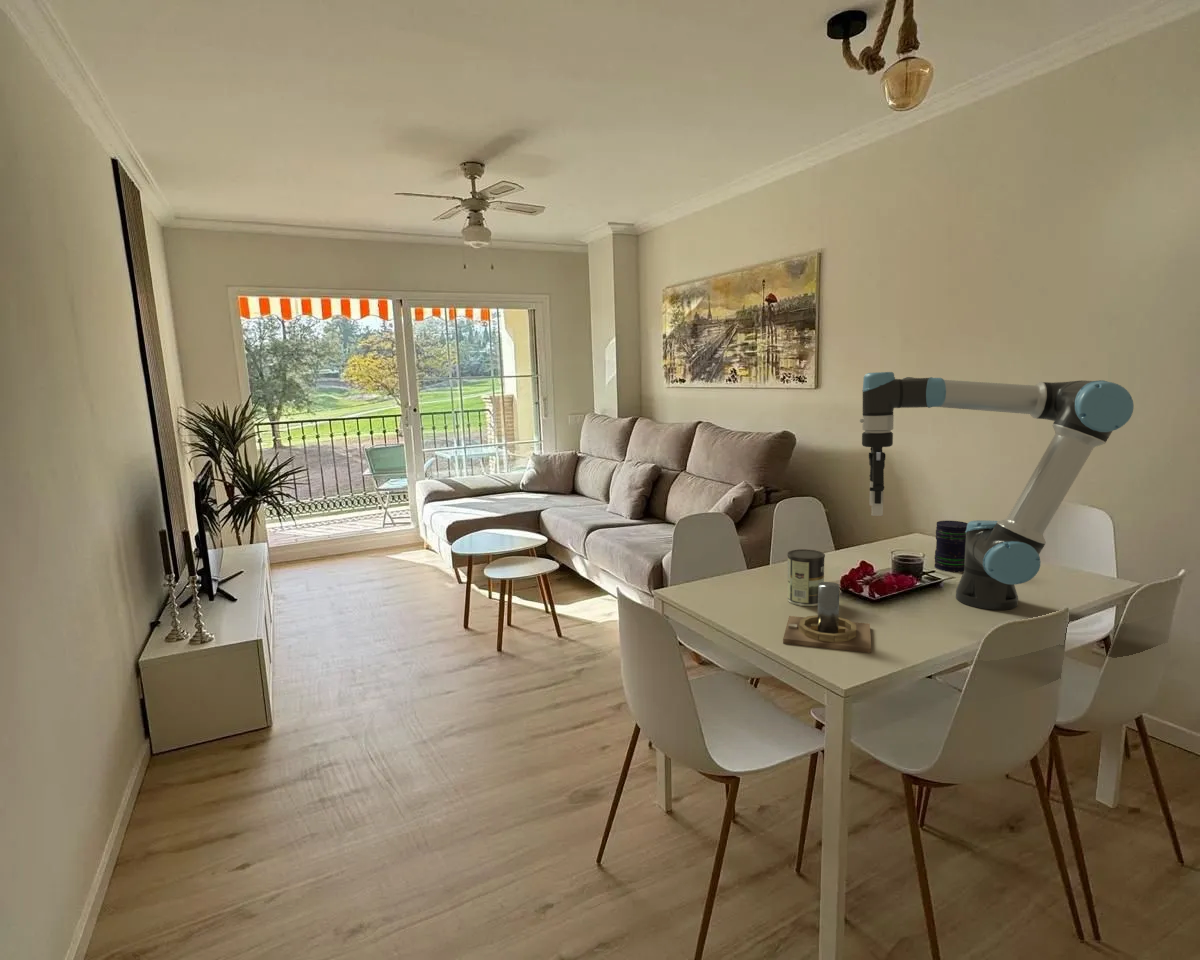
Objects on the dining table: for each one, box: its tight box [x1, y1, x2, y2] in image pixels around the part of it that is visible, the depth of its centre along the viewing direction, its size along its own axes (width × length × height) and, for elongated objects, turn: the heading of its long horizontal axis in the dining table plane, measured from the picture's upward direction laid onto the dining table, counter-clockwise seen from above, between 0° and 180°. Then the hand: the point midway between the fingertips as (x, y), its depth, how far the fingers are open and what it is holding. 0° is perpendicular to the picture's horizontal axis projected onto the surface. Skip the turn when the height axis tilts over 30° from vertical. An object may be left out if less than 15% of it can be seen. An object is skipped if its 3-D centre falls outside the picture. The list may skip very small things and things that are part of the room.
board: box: [782, 614, 872, 654], centre depth 164 cm, size 20×16×3 cm
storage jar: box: [933, 520, 969, 573], centre depth 215 cm, size 10×10×15 cm
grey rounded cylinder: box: [811, 581, 845, 634], centre depth 163 cm, size 5×8×12 cm, turn 69°
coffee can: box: [786, 548, 826, 607], centre depth 189 cm, size 10×10×14 cm
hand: (875, 510), depth 176 cm, fingers open, 13 cm apart
